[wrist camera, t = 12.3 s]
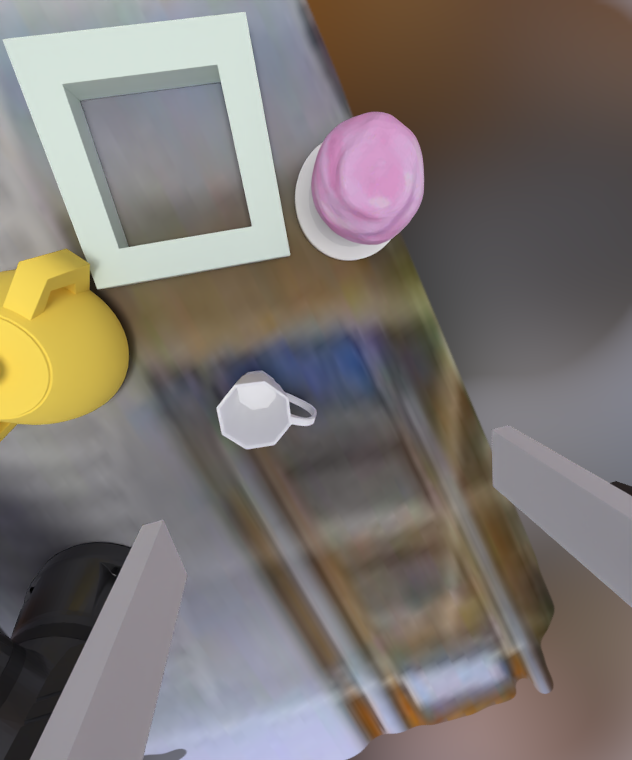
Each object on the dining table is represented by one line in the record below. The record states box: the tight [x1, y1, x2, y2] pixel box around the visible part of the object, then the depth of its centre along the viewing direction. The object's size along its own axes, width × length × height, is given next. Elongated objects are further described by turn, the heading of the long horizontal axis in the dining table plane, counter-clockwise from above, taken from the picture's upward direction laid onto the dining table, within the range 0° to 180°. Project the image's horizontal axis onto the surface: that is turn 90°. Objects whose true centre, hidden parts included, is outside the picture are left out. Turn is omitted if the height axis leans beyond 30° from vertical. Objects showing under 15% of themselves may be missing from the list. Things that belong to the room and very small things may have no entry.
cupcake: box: [311, 112, 424, 245], centre depth 27 cm, size 9×9×10 cm
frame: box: [3, 12, 290, 289], centre depth 29 cm, size 18×18×2 cm
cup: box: [216, 370, 317, 449], centre depth 34 cm, size 7×10×8 cm
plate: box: [295, 142, 391, 261], centre depth 32 cm, size 11×11×1 cm
